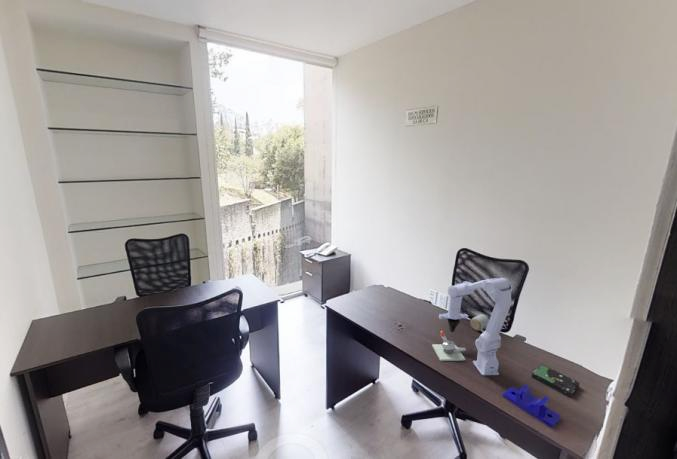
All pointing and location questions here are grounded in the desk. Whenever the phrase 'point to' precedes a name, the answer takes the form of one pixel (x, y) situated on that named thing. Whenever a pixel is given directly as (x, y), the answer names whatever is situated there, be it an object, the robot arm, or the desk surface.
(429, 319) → the desk surface
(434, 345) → the base
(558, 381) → the disk drive
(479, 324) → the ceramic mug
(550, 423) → the mounting bracket
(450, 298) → the robot arm
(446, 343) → the key lever
